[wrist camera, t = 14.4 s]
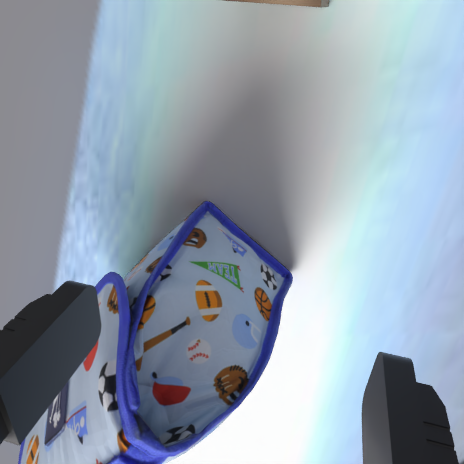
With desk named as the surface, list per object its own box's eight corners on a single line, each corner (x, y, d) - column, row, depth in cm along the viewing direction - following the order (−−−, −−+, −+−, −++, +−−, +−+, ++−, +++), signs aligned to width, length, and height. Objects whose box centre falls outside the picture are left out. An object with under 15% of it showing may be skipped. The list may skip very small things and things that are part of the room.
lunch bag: (191, 176, 43) (16, 361, 21) (304, 269, 45) (258, 530, 23) (104, 288, 55) (-66, 482, 33) (196, 357, 57) (97, 585, 35)
